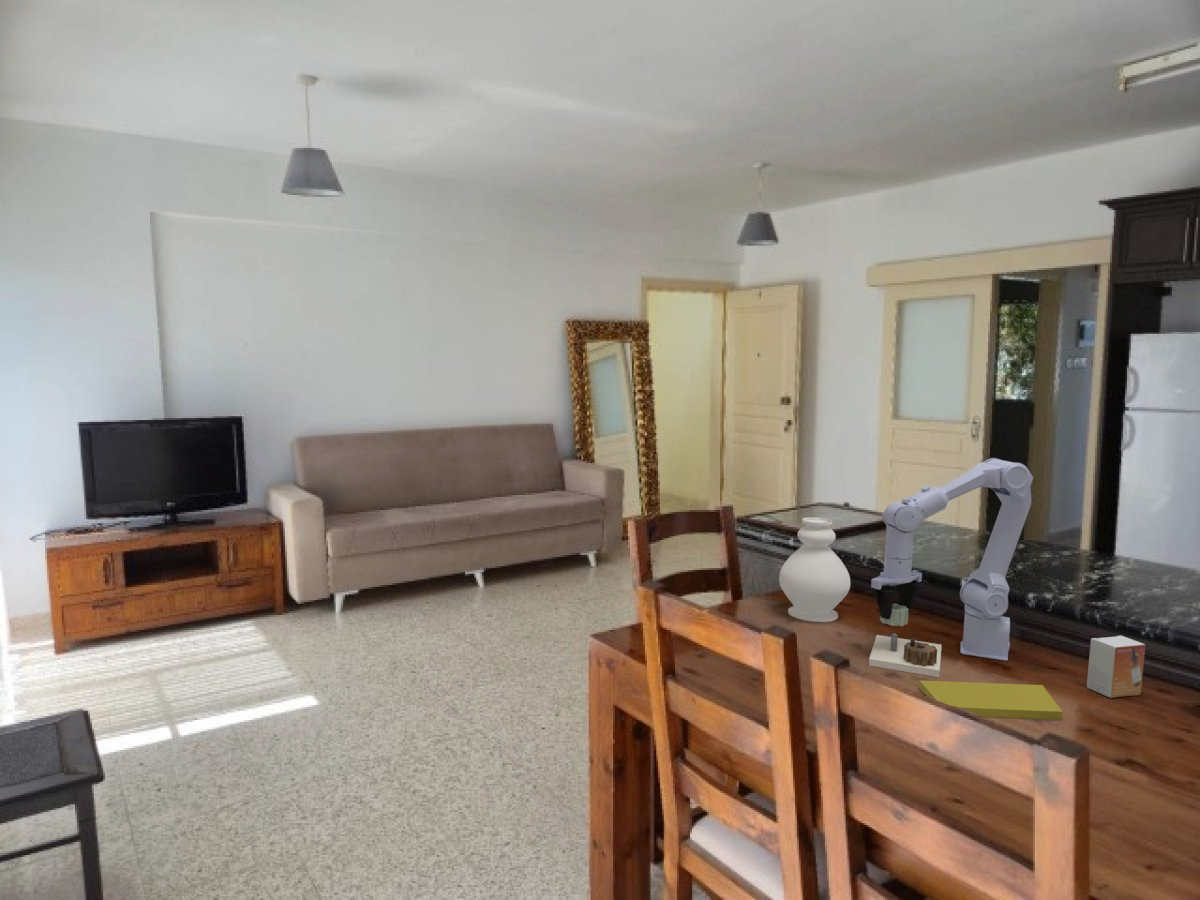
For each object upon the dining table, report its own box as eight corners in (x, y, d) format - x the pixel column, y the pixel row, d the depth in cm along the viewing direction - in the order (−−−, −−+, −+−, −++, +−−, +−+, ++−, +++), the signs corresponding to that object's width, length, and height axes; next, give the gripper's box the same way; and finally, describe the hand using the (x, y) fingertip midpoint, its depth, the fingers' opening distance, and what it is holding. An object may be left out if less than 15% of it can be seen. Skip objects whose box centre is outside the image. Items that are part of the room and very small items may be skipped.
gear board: (941, 650, 177) (942, 627, 177) (939, 677, 162) (940, 651, 161) (876, 641, 183) (877, 618, 182) (868, 665, 168) (870, 641, 167)
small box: (1110, 699, 152) (1114, 647, 151) (1085, 687, 158) (1089, 637, 157) (1141, 695, 155) (1146, 644, 153) (1116, 684, 160) (1121, 634, 159)
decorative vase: (765, 606, 208) (768, 515, 205) (822, 601, 213) (827, 512, 211) (801, 628, 191) (805, 528, 189) (863, 622, 197) (868, 525, 194)
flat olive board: (941, 718, 144) (1075, 723, 143) (942, 706, 144) (1076, 712, 143) (918, 690, 156) (1041, 695, 155) (919, 680, 156) (1042, 685, 155)
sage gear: (909, 620, 176) (909, 605, 176) (905, 627, 171) (906, 612, 171) (882, 616, 179) (882, 601, 178) (878, 623, 174) (878, 608, 173)
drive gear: (936, 657, 169) (938, 637, 168) (935, 668, 163) (937, 647, 162) (904, 652, 171) (905, 633, 171) (902, 662, 165) (904, 642, 165)
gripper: (904, 549, 180) (901, 606, 182) (861, 556, 173) (858, 615, 174) (931, 556, 174) (927, 615, 175) (887, 563, 167) (884, 624, 168)
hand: (894, 615), depth 174 cm, fingers closed on sage gear, 6 cm apart
